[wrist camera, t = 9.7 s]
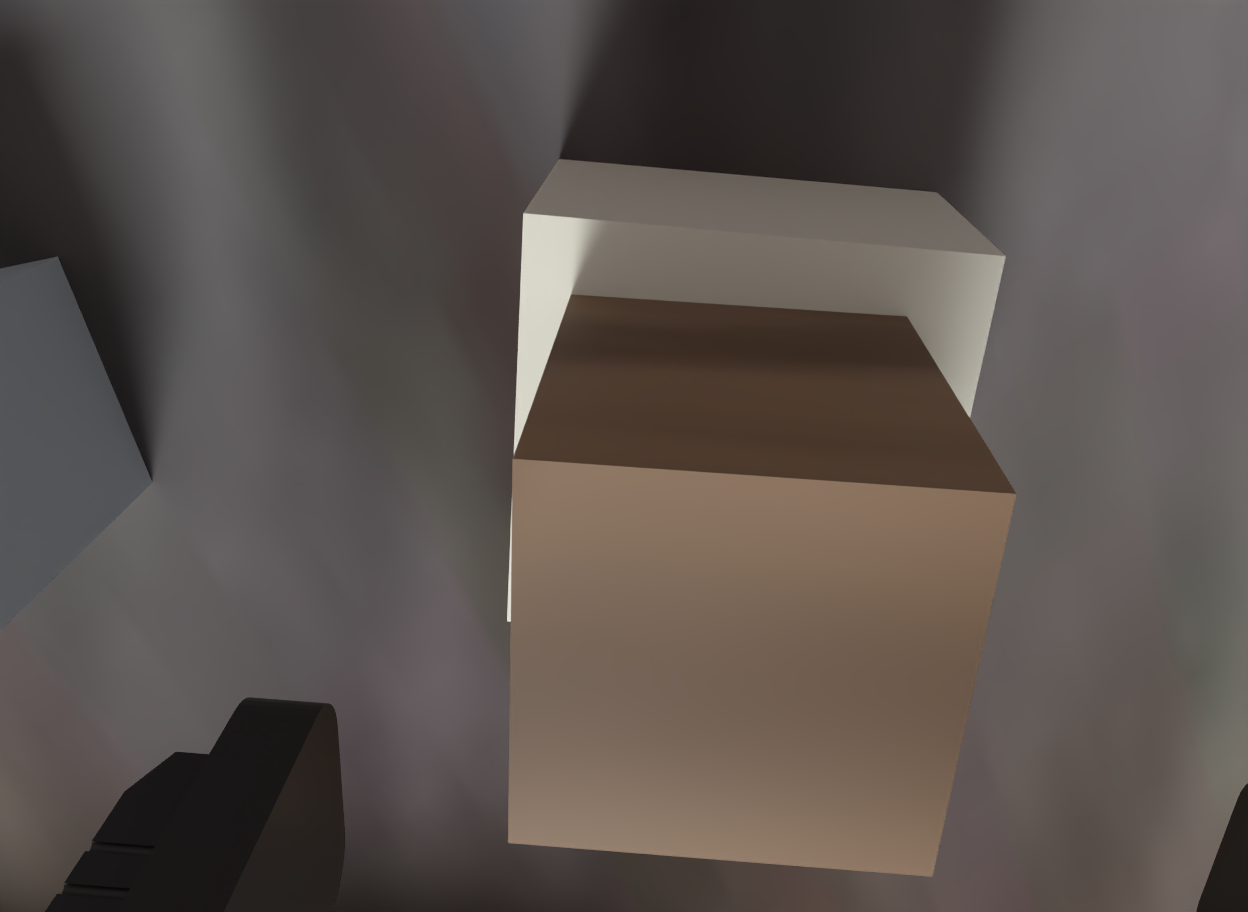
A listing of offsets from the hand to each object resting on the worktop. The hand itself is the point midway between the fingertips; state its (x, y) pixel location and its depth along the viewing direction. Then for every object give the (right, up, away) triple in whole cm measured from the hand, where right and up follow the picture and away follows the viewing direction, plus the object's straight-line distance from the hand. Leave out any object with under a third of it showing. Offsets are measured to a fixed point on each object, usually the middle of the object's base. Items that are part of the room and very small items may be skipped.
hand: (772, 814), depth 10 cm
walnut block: (0, +3, +8) cm, 8 cm away
